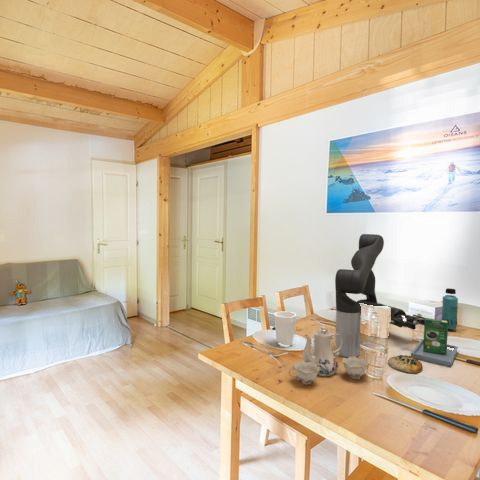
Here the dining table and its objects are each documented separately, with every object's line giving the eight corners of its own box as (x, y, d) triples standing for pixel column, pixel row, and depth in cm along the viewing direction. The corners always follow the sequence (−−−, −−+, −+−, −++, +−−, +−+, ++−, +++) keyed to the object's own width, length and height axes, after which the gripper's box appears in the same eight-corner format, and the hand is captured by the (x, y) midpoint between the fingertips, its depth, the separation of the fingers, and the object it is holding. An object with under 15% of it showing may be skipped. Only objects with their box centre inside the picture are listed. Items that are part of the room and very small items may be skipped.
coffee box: (446, 353, 128) (447, 320, 128) (447, 355, 126) (448, 322, 125) (423, 349, 132) (424, 317, 131) (423, 351, 130) (424, 319, 129)
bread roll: (418, 362, 122) (418, 349, 121) (426, 379, 112) (426, 366, 111) (386, 359, 125) (385, 347, 124) (390, 376, 115) (390, 363, 114)
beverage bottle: (438, 328, 160) (439, 288, 158) (446, 327, 162) (448, 286, 161) (451, 333, 154) (452, 290, 153) (460, 331, 157) (461, 289, 155)
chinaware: (300, 397, 101) (303, 346, 98) (278, 368, 117) (280, 324, 114) (375, 384, 109) (380, 336, 107) (345, 359, 125) (349, 317, 122)
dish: (450, 367, 117) (450, 362, 117) (410, 358, 126) (410, 353, 126) (457, 351, 132) (457, 346, 132) (421, 343, 140) (421, 339, 140)
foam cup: (289, 350, 133) (289, 318, 132) (269, 345, 139) (269, 315, 138) (299, 343, 141) (300, 313, 140) (281, 339, 146) (281, 310, 146)
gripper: (379, 308, 146) (409, 318, 131) (404, 305, 151) (436, 315, 136) (379, 325, 146) (409, 337, 131) (403, 321, 151) (435, 333, 136)
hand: (422, 325), depth 133 cm, fingers open, 8 cm apart
